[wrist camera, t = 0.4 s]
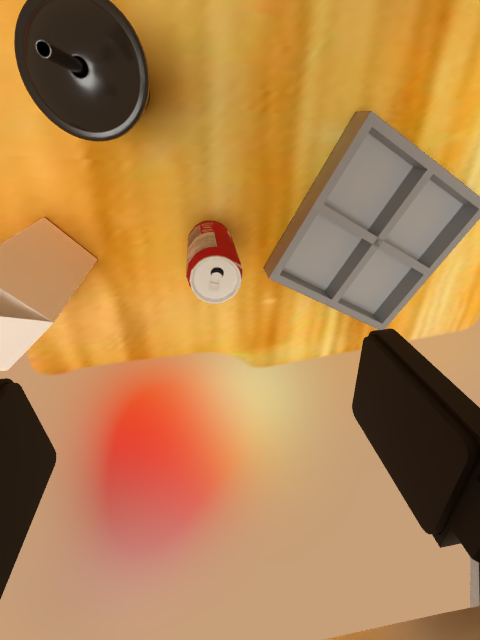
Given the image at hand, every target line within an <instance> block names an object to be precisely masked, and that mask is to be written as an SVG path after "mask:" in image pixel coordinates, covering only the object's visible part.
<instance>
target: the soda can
mask: <svg viewBox="0 0 480 640" xmlns="http://www.w3.org/2000/svg"><path fill="white" fill-rule="evenodd" d="M187 279H188V282H189V285H190V287H191V288H192V291H193V292H194V294H195V295H196V296H197V297H198V298H200V299H201V300H203V301H205V302H207V303H213V304H215V303H222V302H226V301H228V300H229V299H230V298H232V297H233V296H234V295H236V293H237V291H238V289H239V287H240V284H241V279H242V267H241V263H240V260H239V258H238V255H237V252H236V249H235V246H234V243H233V241H232V238H231V235H230V233H229V231H228V230H227V228H225V227H224V226H223V225H222V224H220V223H218V222H214V221H205V222H202V223H200V224H198V225H196V226H195V227H194V229H193V230H192V231H191V233H190V234H189V237H188V245H187Z"/></svg>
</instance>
